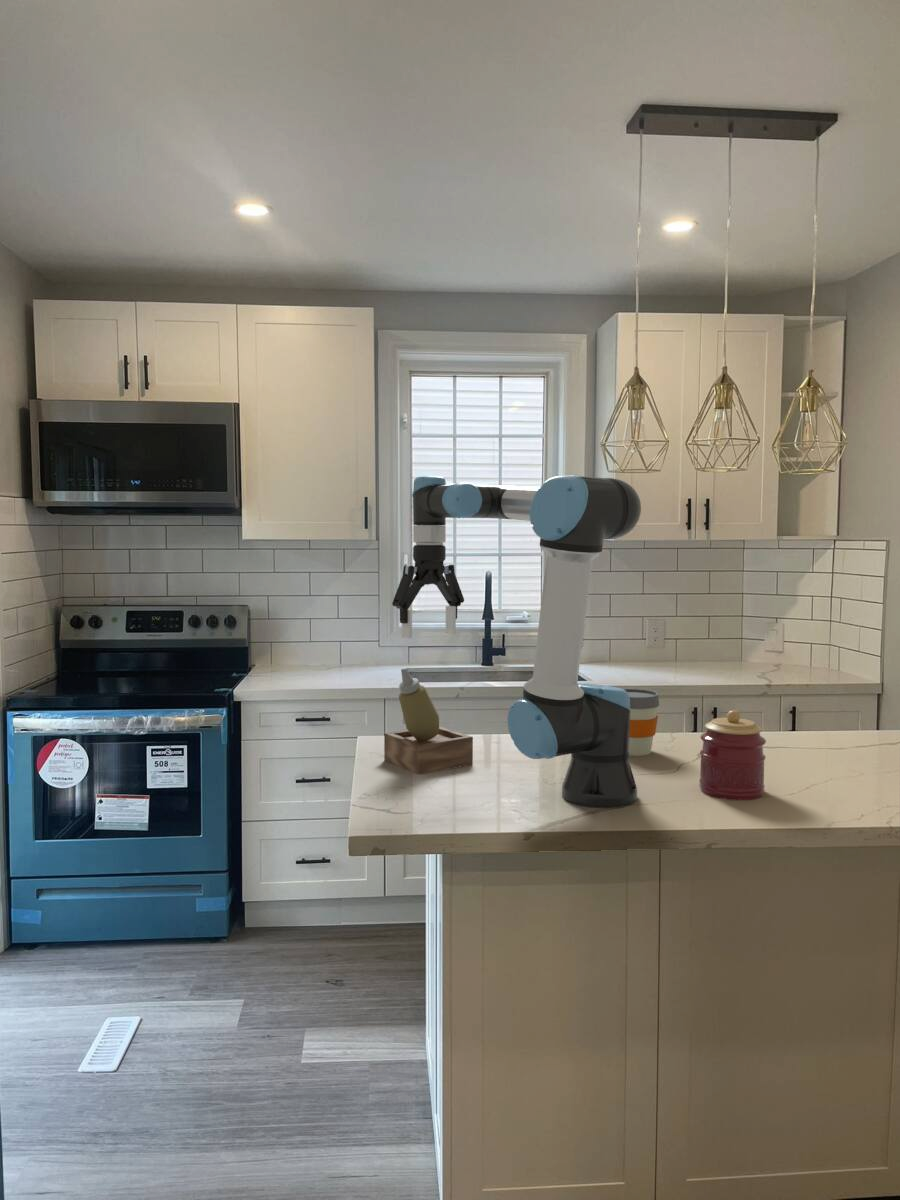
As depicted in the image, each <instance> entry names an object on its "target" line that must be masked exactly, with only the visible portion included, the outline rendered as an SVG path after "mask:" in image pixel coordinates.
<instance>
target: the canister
mask: <svg viewBox="0 0 900 1200" xmlns="http://www.w3.org/2000/svg"><path fill="white" fill-rule="evenodd" d="M704 728H705V729H706V731H705V732H703V733H701V734H700V739H701V740H702V749H701V750H700V751H699V754H700V771H699V772H700V775H699V777H700V778H699V783H698V785H699V789H700V791H701V792H702V793H703V794H705V795H706V796H709V797H713V798H717V799H723V800H728V801H729V800H730V801H751V800H757V799H760V798H763V796H764V794H765V793H764V792H765V786H766V785H765V760H766V755H765V753H764V745H765V744H766V743H767V739H766V738H764V737H763V736H762V735H761V732H762V731H763V729H762V727H761V726H759V725H757V723H755V722H754V721H753V720H749V719H745V718H741V716H740V713H739V711H737V710H735V709H734V710H729V711H728V712H727V714H726V717H716V718H713V719H711V721H708V722H706V723H705V725H704Z"/></svg>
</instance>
